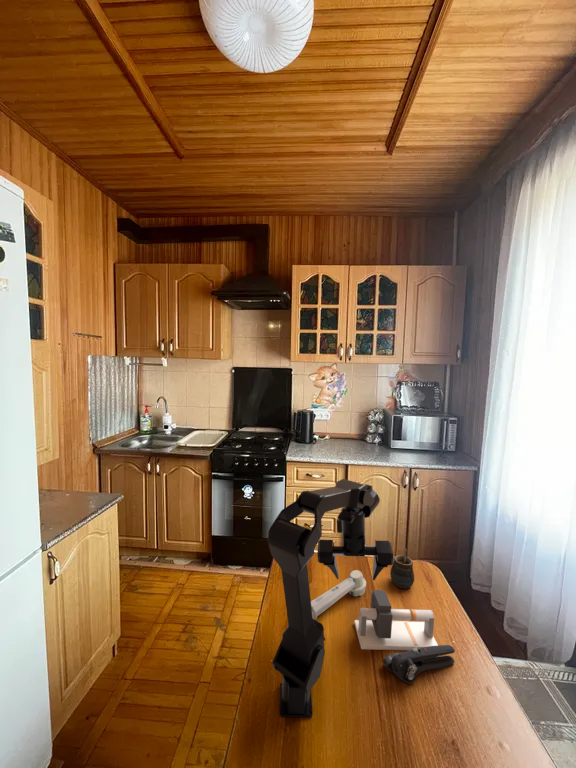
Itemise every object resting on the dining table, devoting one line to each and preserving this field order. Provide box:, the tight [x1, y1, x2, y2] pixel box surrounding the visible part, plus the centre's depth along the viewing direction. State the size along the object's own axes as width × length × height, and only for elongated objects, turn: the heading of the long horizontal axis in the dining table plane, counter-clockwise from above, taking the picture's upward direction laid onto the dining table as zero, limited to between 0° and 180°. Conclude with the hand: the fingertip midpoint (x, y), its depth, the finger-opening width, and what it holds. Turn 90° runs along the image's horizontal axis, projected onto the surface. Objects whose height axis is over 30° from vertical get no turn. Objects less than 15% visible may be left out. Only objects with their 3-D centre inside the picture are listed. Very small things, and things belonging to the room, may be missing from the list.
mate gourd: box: [390, 547, 415, 590], centre depth 108 cm, size 7×8×10 cm
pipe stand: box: [354, 607, 438, 651], centre depth 87 cm, size 8×19×7 cm, turn 91°
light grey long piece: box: [311, 569, 367, 621], centre depth 98 cm, size 5×7×25 cm
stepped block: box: [370, 589, 393, 638], centre depth 87 cm, size 8×3×8 cm, turn 1°
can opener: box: [382, 644, 456, 684], centre depth 79 cm, size 18×7×6 cm, turn 106°
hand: (355, 578), depth 90 cm, fingers open, 9 cm apart
